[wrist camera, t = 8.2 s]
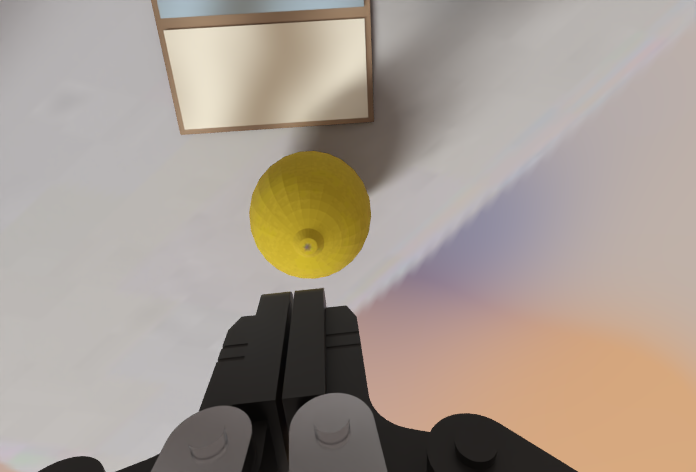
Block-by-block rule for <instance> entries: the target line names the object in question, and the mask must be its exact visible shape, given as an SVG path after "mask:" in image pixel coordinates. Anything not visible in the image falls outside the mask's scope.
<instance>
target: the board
mask: <svg viewBox="0 0 696 472" xmlns="http://www.w3.org/2000/svg"><path fill="white" fill-rule="evenodd" d="M151 2H152V7H153V11H154V16H155V20H156V25H157V30H158V34H159V39H160V43H161V48H162V52H163V57H164V61H165V66H166V70H167V75H168V80H169V84H170V89H171V93H172V98H173V102H174V107H175V111H176V116H177V121H178V125H179V130H180V134H181V135H185V134H200V133H215V132H230V131H245V130H259V129H274V128H289V127H304V126H319V125H333V124H348V123H363V122H374V112H373V81H372V50H371V19H370V0H151Z"/></svg>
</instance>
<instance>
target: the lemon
mask: <svg viewBox="0 0 696 472" xmlns="http://www.w3.org/2000/svg"><path fill="white" fill-rule="evenodd" d="M249 214H250V225H251V232H252V234H253V237H254V240H255V242H256V245H257V247H258V249H259V250H260V252H261V253H262V254H263V256H264V257H265V259H266V260H267V261H269V262H270V263H271V264H272V265H273V266H274V267H276V268H277V269H278V270H280V271H282V272H284V273H286V274H288V275H291V276H295V277H299V278H320V277H325V276H329V275H331V274H333V273H336V272H338V271H340V270H341V269H343V268H344V267H345V266H346V265H348V264H349V263H350V262H352V261H353V259H354V258H355V257H356V256H357V254H358V253H359V252H360V250H361V249H362V247H363V244H364V242H365V240H366V238H367V235H368V232H369V226H370V220H371V210H370V200H369V196H368V194H367V191H366V189H365V186H364V184H363V182H362V180H361V179H360V178H359V176H358V175H357V173H356V172H355V171H354V170H353V169H352V168H351V167H350V166H349V165H347V164H346V163H345V162H344V161H343V160H341V159H339V158H337V157H335V156H332V155H330V154H328V153H322V152H316V151H306V152H297V153H294V154H291V155H288V156H285V157H283V158H282V159H280V160H279V161H277V162H276V163H275V164H273V165H272V166H270V167H269V169H268V170H267V171H266V172H265V173H264V174H263V176H262V177H261V178H260V179H259V181H258V184H257V186H256V188H255V190H254V192H253V194H252V200H251V206H250V212H249Z"/></svg>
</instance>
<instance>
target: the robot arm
mask: <svg viewBox="0 0 696 472" xmlns="http://www.w3.org/2000/svg"><path fill="white" fill-rule="evenodd" d="M38 472H105V470H104V468H103V466H102V464H101V463H100V462H99V461H98V460H96V459H95V458H92V457H86V456H80V457H72V458H68V459H64V460H61V461H58V462H56V463H54V464H52V465H49V466H47V467H46V468H44V469H42V470H40V471H38ZM116 472H578V471H576V470H574V469H573V468H571V467H569V466H568V465H566V464H564V463H563V462H561V461H560V460H558V459H556V458H555V457H553V456H551V455H550V454H548V453H547V452H545V451H543V450H542V449H540V448H538V447H537V446H535V445H534V444H532V443H530V442H528V441H527V440H525V439H524V438H522V437H521V436H519V435H517V434H516V433H514V432H513V431H511V430H509V429H508V428H506V427H504V426H503V425H501V424H500V423H498V422H496V421H494V420H492V419H490V418H487V417H484V416H481V415H477V414H469V413H468V414H467V413H466V414H455V415H451V416H448V417H446V418H444V419H442V420H441V421H439V422H438V423H437V424H436V425H435V426H434V427H433V428H432V430H431V432H425V431H420V430H414V429H409V428H404V427H401V426H398V425H395V424H393V423H391V422H389V421H387V420H386V419H385V418H383V417H382V416H380V414H379V413H378V412H377V411H376V410H375V409H374V407H373V406H372V404H371V401H370V399H369V394H368V388H367V381H366V375H365V369H364V362H363V356H362V349H361V342H360V336H359V329H358V324H357V317H356V316H355V314H354V313H353V312H352V311H351V310H350V309H349V308H348V307H347V306H338V307H328V308H326V300H325V292H324V288H320V289H310V290H301V291H295V293H294V299H293V294H292V292H282V293H273V294H263V295H261V298H260V302H259V305H258V309H257V313H256V315H254V316H245V317H241V318H240V319H239V320H238V321H237V322H236V323H235V324H234V325H233V326H232V327H231V328H230V329H229V330H228V333H227V335H226V338H225V341H224V344H223V349H221V352H220V355H219V357H218V362H217V363H216V366H215V368H214V371H213V374H212V377H211V379H210V382H209V385H208V388H207V390H206V393H205V396H204V399H203V401H202V404H201V407H200V410H199V412H197V413H195V414H193V415H192V416H190V417H189V418H187V419H186V420H184V421H183V422H182V423H181V424H180V425H178V426H177V427H176V428H175V429H174V431H173V432H172V433H171V434H170V436H169V437H168V439H167V441H166V443H165V445H164V446H163V448H162V450H161V452H160V454H158V455H156V456H154V457H152V458H149V459H147V460H145V461H142V462H139V463H137V464H134V465H132V466H129V467H126V468H124V469H121V470H119V471H116Z"/></svg>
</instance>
